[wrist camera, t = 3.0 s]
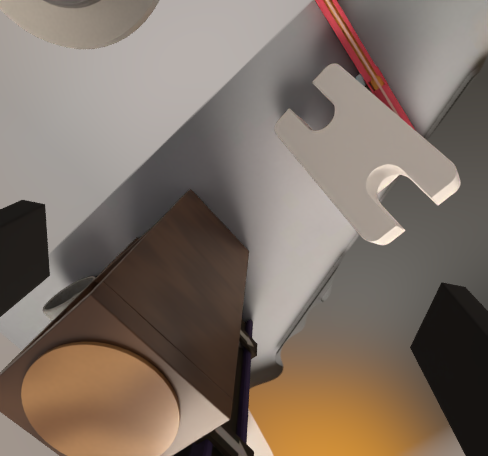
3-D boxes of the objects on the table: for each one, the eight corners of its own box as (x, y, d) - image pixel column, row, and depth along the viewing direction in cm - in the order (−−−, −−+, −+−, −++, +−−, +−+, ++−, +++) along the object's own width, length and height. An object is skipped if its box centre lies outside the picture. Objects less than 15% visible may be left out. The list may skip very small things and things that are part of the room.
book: (147, 391, 57) (34, 665, 29) (122, 367, 56) (-23, 630, 28) (257, 323, 52) (250, 581, 23) (232, 294, 50) (191, 531, 22)
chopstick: (292, 0, 36) (330, -36, 34) (294, 2, 38) (330, -32, 36) (404, 176, 42) (443, 154, 40) (401, 171, 43) (438, 150, 41)
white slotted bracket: (271, 128, 40) (311, 155, 48) (369, 246, 31) (397, 254, 40) (332, 59, 36) (364, 102, 44) (463, 172, 27) (471, 198, 36)
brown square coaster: (-5, 377, 24) (-27, 399, 22) (103, 280, 21) (87, 296, 19) (120, 472, 26) (109, 499, 25) (233, 399, 23) (230, 423, 21)
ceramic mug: (91, 328, 54) (65, 362, 46) (61, 287, 51) (29, 316, 44) (148, 305, 52) (130, 336, 45) (119, 261, 50) (96, 286, 42)
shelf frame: (131, 242, 48) (-5, 377, 24) (190, 188, 45) (103, 280, 21) (189, 298, 51) (120, 472, 26) (249, 251, 48) (233, 399, 23)
